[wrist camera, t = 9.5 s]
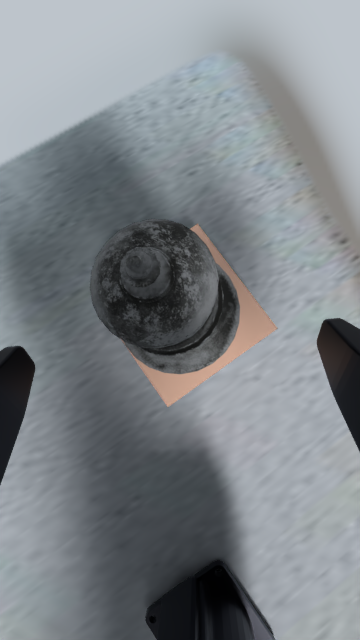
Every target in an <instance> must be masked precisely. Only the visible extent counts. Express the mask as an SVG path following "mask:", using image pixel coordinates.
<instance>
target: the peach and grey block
mask: <svg viewBox="0 0 360 640" xmlns="http://www.w3.org/2000/svg"><path fill="white" fill-rule="evenodd" d="M190 230H192V231H193V232H195V233H196V234H197V235H198V236H199V237H200V238H201V239H202V241H203V242H204V243H205V244H206V245H207V247H208V248H209V250H210V252H211V254H212V256H213V258H214V260H215V262H216V263H217V264H218V265H219V266H220V267H221V268H222V269H223V270H224V271H225V272H226V273H227V275H228V276H229V277H230V279H231V281H232V283H233V285H234V287H235V289H236V290H237V295H238V299H239V304H240V319H239V326H238V329H237V332H236V335H235V338H234V340H233V341H232V343H231V344H230V346H229V347H228V349H227V350H226V352H225V353H224V354H223V355H222V356H221V357H220V358H219V359H217V360H216V361H215V362H214V363H213V364H211V365H209V366H207V367H205V368H203V369H201V370H199V371H196V372H191V373H185V374H171V373H163V372H161V371H158V370H155V369H152V368H149V367H148V366H146V365H145V364H144V363H142V362H141V361H139V360H138V359H136V358H135V356H134V355H133V354H132V353H131V352H130V351H129V352H130V353H131V355H132V356H133V357H134V359H135V360H136V362H137V363H138V365H139V366H140V368H141V369H142V370H143V372H144V373H145V375H146V376H147V378H148V379H149V381H150V382H151V383H152V385H153V386H154V388H155V389H156V391H157V392H158V394H159V395H160V396H161V398H162V399H163V401H164V402H165V404H166V405H167V407H169V406H170V405H172V404H173V403H174V402H176V401H177V400H179V399H180V398H181V397H183V396H184V395H186V394H187V393H188V392H190V391H191V390H193V389H194V388H195V387H197V386H198V385H200V384H201V383H202V382H204V381H205V380H206V379H208V378H209V377H211V376H212V375H213V374H215V373H216V372H218V371H219V370H220V369H222V368H223V367H225V366H226V365H227V364H229V363H230V362H232V361H233V360H234V359H236V358H237V357H238V356H240V355H241V354H243V353H244V352H245V351H247V350H248V349H250V348H251V347H252V346H254V345H255V344H257V343H258V342H259V341H261V340H262V339H263V338H265V337H266V336H268V335H269V334H270V333H272V332H273V331H275V330H276V329H277V327H276V326H275V324H274V323H273V322H272V320H271V319H270V318H269V317H268V315H267V314H266V313H265V311H264V310H263V309H262V307H261V306H260V305H259V303H258V302H257V301H256V299H255V298H254V297H253V296H252V294H251V293H250V292H249V290H248V289H247V288H246V286H245V285H244V284H243V282H242V281H241V280H240V279H239V277H238V276H237V275H236V273H235V272H234V271H233V269H232V268H231V267H230V265H229V264H228V263H227V262H226V260H225V259H224V258H223V256H222V255H221V254H220V252H219V251H218V250H217V248H216V247H215V246H214V244H213V243H212V242H211V241H210V239H209V238H208V237H207V235H206V234H205V233H204V231H203V230H202V229H201V227H200V226H199V225H198V224H196V225H195V226H193V227H192V228H191V229H190ZM122 342H123V343H124V341H123V340H122ZM127 349H128V348H127ZM128 350H129V349H128Z"/></svg>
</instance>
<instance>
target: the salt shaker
mask: <svg viewBox="0 0 360 640" xmlns="http://www.w3.org/2000/svg"><path fill="white" fill-rule="evenodd" d="M90 291H91V297H92V303H93V306H94V308H95V310H96V312H97V315H98V317H99V319H100V320H101V321H102V322H103V323H104V325H105V326H106V327H107V328H108V329H109V331H110V332H111V333H113V334H114V335H116V336H117V337H119V338H120V339H121V340H123V341H124V344H125V346H126V347H127V348H128V349H129V351H130V352H131V353H132V354H133V355H134V356H135V358H136V359H138V360H139V361H141V362H142V363H144V364H145V365H146V366H148V367H149V368H152V369H155V370H158V371H161V372H163V373H171V374H185V373H191V372H196V371H199V370H201V369H203V368H205V367H207V366H209V365H211V364H213V363H214V362H215V361H216V360H217V359H219V358H220V357H221V356H222V355H223V354H224V353H225V352H226V350H227V349H228V347H229V346H230V344H231V343H232V341H233V340H234V338H235V335H236V332H237V329H238V326H239V319H240V304H239V299H238V295H237V290H236V289H235V287H234V285H233V283H232V281H231V279H230V277H229V276H228V275H227V273H226V272H225V271H224V270H223V269H222V268H221V267H220V266H219V265H218V264H217V263H216V262H215V260H214V258H213V256H212V254H211V252H210V250H209V248H208V247H207V245H206V244H205V243H204V242H203V241H202V239H201V238H200V237H199V236H198V235H197V234H196V233H195V232H193V231H192V230H190V229H189V228H187V227H185V226H184V225H182V224H179V223H176V222H173V221H169V220H162V219H148V220H144V221H140V222H136V223H133V224H131V225H129V226H127V227H125V228H123V229H121V230H119V231H118V232H117V233H116V234H115V235H114V236H113V237H111V238H110V239H109V240H108V241H107V242H106V243H105V245H104V246H103V248H102V249H101V251H100V252H99V254H98V255H97V258H96V260H95V263H94V266H93V269H92V271H91V282H90Z"/></svg>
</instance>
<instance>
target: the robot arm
mask: <svg viewBox="0 0 360 640" xmlns="http://www.w3.org/2000/svg"><path fill="white" fill-rule="evenodd" d="M317 347H318V350H319V353H320V357H321V360H322V363H323V366H324V369H325V372H326V375H327V378H328V381H329V384H330V387H331V390H332V392H333V395H334V397H335V400H336V402H337V404H338V406H339V408H340V410H341V413H342V415H343V417H344V419H345V421H346V423H347V426H348V428H349V430H350V432H351V434H352V436H353V438H354V441H355V443H356V445H357V447H358V449H359V451H360V329H359V328H357V327H355V326H353V325H352V324H350V323H348V322H346V321H345V320H343V319H340V318H334V319H326V320H324V321H323V323H322V326H321V329H320V332H319V335H318V338H317ZM34 373H35V364H34V362H33V360H32V359H31V358H30V356H29V355H28V353H27V352H26V351H25V349H24V348H23V347H21V346H11V347H6V348H4V349H3V350H1V351H0V485H1V482H2V479H3V476H4V473H5V470H6V467H7V464H8V462H9V459H10V456H11V453H12V450H13V447H14V444H15V441H16V439H17V436H18V433H19V430H20V427H21V424H22V421H23V418H24V415H25V411H26V407H27V403H28V399H29V394H30V390H31V386H32V381H33V377H34ZM217 569H221V571H220V572H218V571H216V570H217ZM152 615H154V616H155V617H152ZM146 623H147V625H148V626H149V628H150V629H151V631H152V632H153V634H154V636H155V637H156V639H157V640H275V638H274V636H273V635H272V633H271V632H270V630H269V629H268V627H267V626H266V625H265V623H264V622H263V620H262V619H261V617H260V616H259V614H258V613H257V611H256V610H255V608H254V607H253V605H252V604H251V602H250V601H249V599H248V598H247V596H246V595H245V593H244V592H243V590H242V589H241V587H240V586H239V584H238V583H237V581H236V580H235V578H234V577H233V575H232V574H231V572H230V571H229V569H228V568H227V567H226V565H225V564H224V563H223V562H222V561H220V560H216V561H214V562H212V563H211V564H210V565H208V566H207V567H205V568H204V569H203V570H201V571H200V572H198V573H197V574H195V575H194V576H191V577H189V578H188V579H187V580H185V581H184V582H182V583H181V584H179V585H178V586H177V587H175V588H174V589H172V590H171V591H169V592H168V593H167V594H165V595H164V596H163V598H161V599H160V600H158V601H157V602H155V603H154V604H153V605H151V606H150V607H149V608H148V609H147V613H146Z"/></svg>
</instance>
